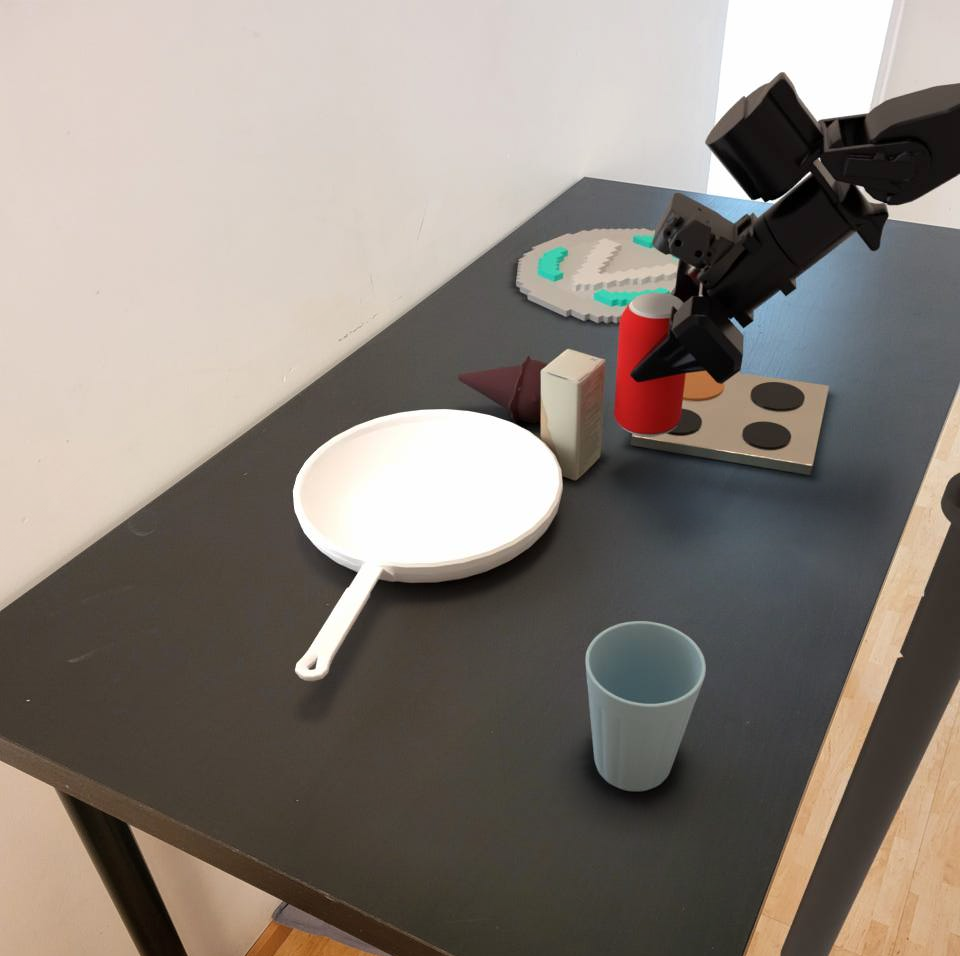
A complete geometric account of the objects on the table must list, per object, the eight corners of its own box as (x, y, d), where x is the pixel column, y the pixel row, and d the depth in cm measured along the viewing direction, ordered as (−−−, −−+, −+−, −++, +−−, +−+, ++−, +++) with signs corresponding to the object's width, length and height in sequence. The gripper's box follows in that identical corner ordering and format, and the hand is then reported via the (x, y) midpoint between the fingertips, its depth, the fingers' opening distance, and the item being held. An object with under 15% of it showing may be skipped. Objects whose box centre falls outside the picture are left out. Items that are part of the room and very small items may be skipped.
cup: (706, 752, 68) (727, 651, 61) (652, 823, 64) (667, 724, 56) (617, 706, 71) (626, 605, 64) (560, 771, 67) (563, 671, 60)
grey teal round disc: (475, 275, 128) (475, 263, 126) (618, 218, 140) (618, 207, 139) (627, 345, 112) (628, 332, 111) (772, 274, 124) (774, 262, 123)
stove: (827, 395, 102) (829, 383, 101) (810, 475, 92) (813, 463, 91) (664, 371, 107) (665, 360, 106) (630, 445, 97) (631, 434, 96)
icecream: (445, 376, 95) (588, 405, 93) (467, 327, 99) (605, 354, 96) (449, 424, 101) (583, 452, 99) (469, 376, 105) (600, 402, 102)
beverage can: (671, 447, 86) (685, 323, 78) (606, 437, 88) (612, 314, 79) (685, 413, 90) (700, 292, 82) (622, 404, 92) (630, 284, 83)
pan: (588, 460, 95) (590, 423, 92) (469, 750, 69) (466, 711, 66) (361, 427, 101) (356, 391, 98) (172, 682, 75) (157, 644, 72)
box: (566, 445, 97) (569, 345, 89) (602, 457, 95) (608, 357, 87) (538, 469, 94) (539, 369, 86) (574, 483, 92) (579, 381, 84)
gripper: (725, 126, 78) (589, 253, 88) (717, 208, 65) (559, 346, 75) (804, 225, 82) (666, 336, 92) (812, 322, 69) (650, 439, 79)
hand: (636, 360), depth 85 cm, fingers closed on beverage can, 6 cm apart
